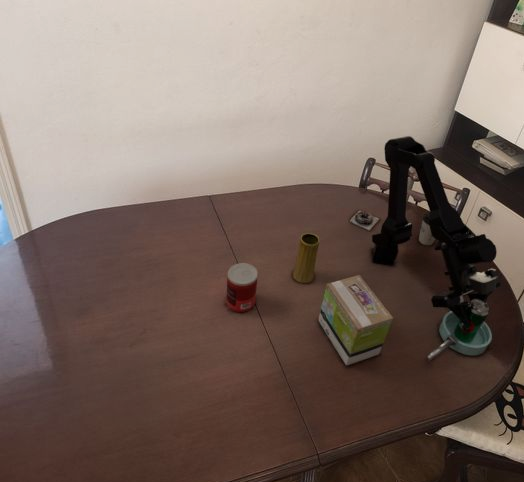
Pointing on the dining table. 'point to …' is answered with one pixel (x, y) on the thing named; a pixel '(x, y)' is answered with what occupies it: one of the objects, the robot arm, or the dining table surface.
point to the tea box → (354, 319)
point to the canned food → (241, 287)
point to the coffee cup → (426, 231)
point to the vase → (306, 258)
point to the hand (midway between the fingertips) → (475, 324)
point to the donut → (364, 220)
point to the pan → (465, 348)
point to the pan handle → (442, 347)
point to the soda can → (472, 320)
